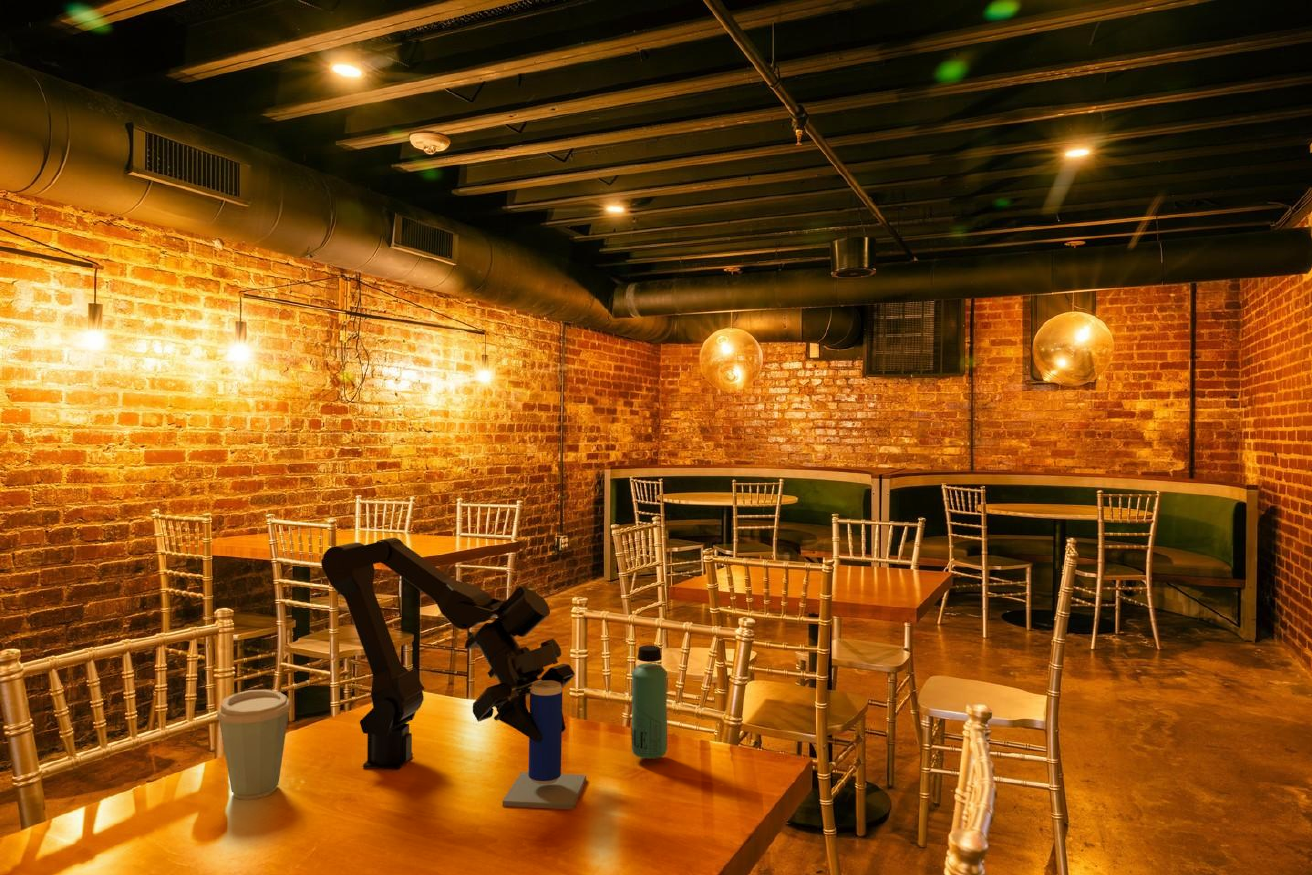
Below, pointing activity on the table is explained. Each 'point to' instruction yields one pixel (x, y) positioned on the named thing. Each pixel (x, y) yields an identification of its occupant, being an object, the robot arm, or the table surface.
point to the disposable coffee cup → (254, 740)
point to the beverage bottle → (649, 705)
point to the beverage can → (546, 732)
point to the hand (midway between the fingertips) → (551, 735)
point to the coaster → (545, 792)
